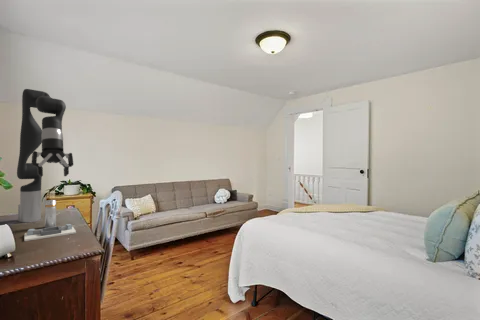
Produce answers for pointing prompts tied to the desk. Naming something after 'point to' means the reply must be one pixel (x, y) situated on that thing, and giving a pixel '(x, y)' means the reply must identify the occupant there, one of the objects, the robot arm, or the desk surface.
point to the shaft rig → (49, 232)
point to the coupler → (50, 213)
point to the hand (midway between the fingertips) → (53, 176)
